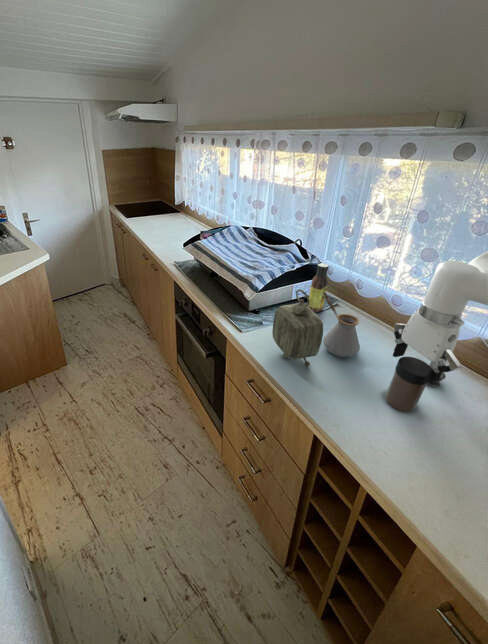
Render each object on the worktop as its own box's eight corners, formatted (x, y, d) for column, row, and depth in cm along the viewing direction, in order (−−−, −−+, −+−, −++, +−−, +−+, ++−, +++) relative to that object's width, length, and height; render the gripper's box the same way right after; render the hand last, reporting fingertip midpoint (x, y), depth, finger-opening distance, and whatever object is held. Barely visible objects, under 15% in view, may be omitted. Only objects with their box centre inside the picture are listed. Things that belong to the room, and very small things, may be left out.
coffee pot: (365, 359, 101) (378, 321, 94) (333, 363, 100) (343, 325, 93) (329, 323, 120) (337, 289, 113) (302, 325, 118) (308, 292, 111)
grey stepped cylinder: (444, 390, 89) (461, 358, 83) (420, 385, 91) (435, 354, 85) (437, 376, 94) (452, 345, 88) (414, 372, 96) (428, 341, 90)
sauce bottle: (322, 313, 126) (332, 269, 116) (306, 311, 128) (315, 267, 118) (322, 305, 131) (331, 263, 122) (306, 303, 133) (315, 261, 124)
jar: (409, 394, 88) (425, 361, 82) (419, 414, 82) (436, 380, 76) (381, 389, 90) (395, 356, 84) (389, 408, 84) (403, 374, 78)
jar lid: (423, 367, 83) (426, 359, 82) (434, 387, 77) (438, 379, 75) (391, 362, 85) (394, 354, 84) (400, 381, 79) (403, 373, 77)
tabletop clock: (314, 368, 97) (331, 301, 86) (289, 373, 96) (302, 305, 84) (291, 341, 110) (303, 279, 98) (268, 345, 108) (277, 282, 96)
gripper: (491, 332, 65) (457, 389, 73) (418, 293, 80) (397, 345, 88) (464, 337, 64) (432, 395, 72) (395, 297, 78) (375, 349, 86)
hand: (413, 367), depth 80 cm, fingers open, 9 cm apart
